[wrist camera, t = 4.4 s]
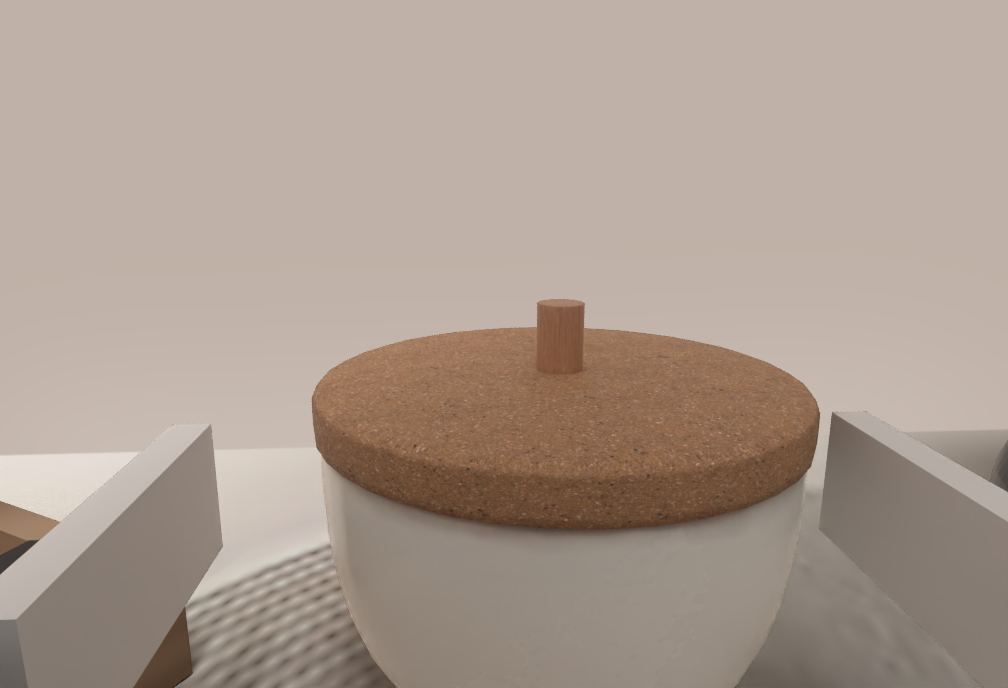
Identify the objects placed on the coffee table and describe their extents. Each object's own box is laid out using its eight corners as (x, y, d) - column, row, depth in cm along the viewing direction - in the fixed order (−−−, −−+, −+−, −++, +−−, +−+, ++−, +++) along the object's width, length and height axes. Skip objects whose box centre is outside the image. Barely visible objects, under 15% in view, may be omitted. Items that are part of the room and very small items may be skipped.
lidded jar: (900, 820, 14) (974, 345, 12) (326, 948, 11) (287, 384, 9) (661, 546, 24) (677, 267, 22) (332, 584, 22) (315, 276, 19)
